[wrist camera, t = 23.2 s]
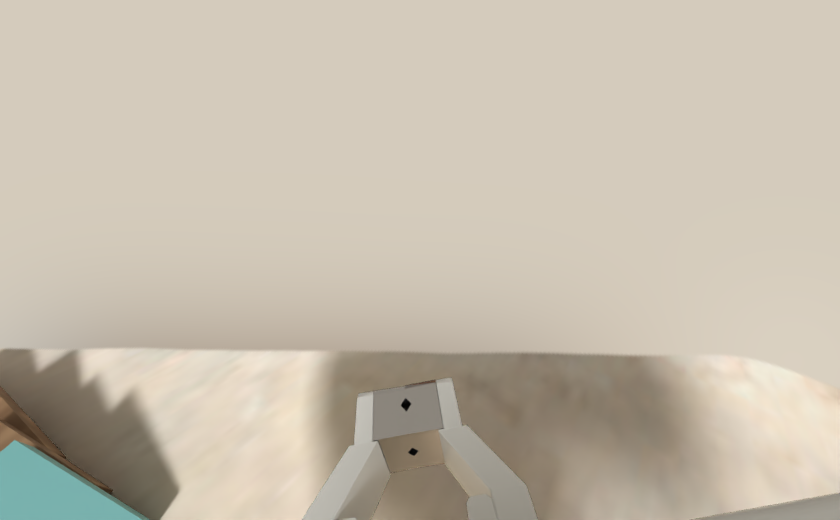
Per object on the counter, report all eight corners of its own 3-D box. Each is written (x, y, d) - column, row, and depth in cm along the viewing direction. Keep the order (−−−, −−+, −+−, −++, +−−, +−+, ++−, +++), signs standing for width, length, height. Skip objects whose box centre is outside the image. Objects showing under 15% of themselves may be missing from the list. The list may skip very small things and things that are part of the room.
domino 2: (98, 485, 22) (-14, 412, 24) (8, 581, 19) (-117, 491, 20) (112, 490, 24) (6, 421, 25) (31, 579, 21) (-88, 495, 22)
